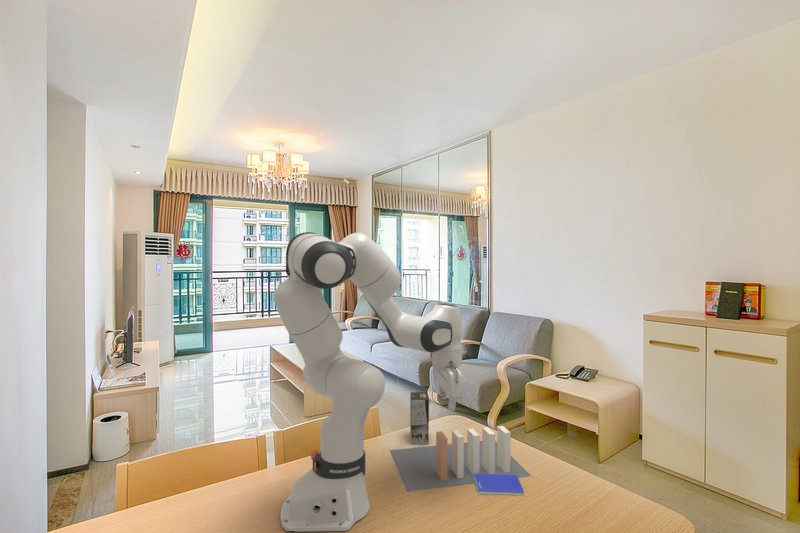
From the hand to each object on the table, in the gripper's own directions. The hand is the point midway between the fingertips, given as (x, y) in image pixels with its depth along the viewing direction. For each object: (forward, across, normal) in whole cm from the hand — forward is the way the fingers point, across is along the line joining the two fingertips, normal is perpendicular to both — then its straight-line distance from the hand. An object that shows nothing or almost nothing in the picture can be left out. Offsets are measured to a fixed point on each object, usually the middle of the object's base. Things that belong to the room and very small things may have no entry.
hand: (447, 404), depth 120 cm
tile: (+21, 0, +2) cm, 21 cm away
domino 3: (+21, +1, -13) cm, 25 cm away
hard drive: (+22, -8, -12) cm, 26 cm away
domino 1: (+21, 0, -3) cm, 21 cm away
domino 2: (+21, 0, -8) cm, 23 cm away
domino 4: (+21, +1, -18) cm, 28 cm away
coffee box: (+22, +25, +4) cm, 33 cm away
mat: (+22, +7, -5) cm, 23 cm away
